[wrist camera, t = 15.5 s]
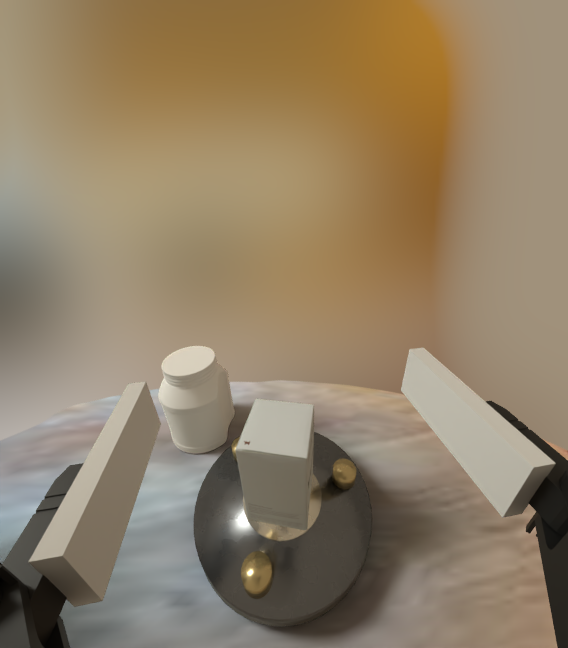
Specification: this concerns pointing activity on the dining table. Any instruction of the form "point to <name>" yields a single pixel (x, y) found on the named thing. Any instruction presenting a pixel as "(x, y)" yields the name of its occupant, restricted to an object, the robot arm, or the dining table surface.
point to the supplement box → (277, 462)
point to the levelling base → (284, 541)
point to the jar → (196, 399)
